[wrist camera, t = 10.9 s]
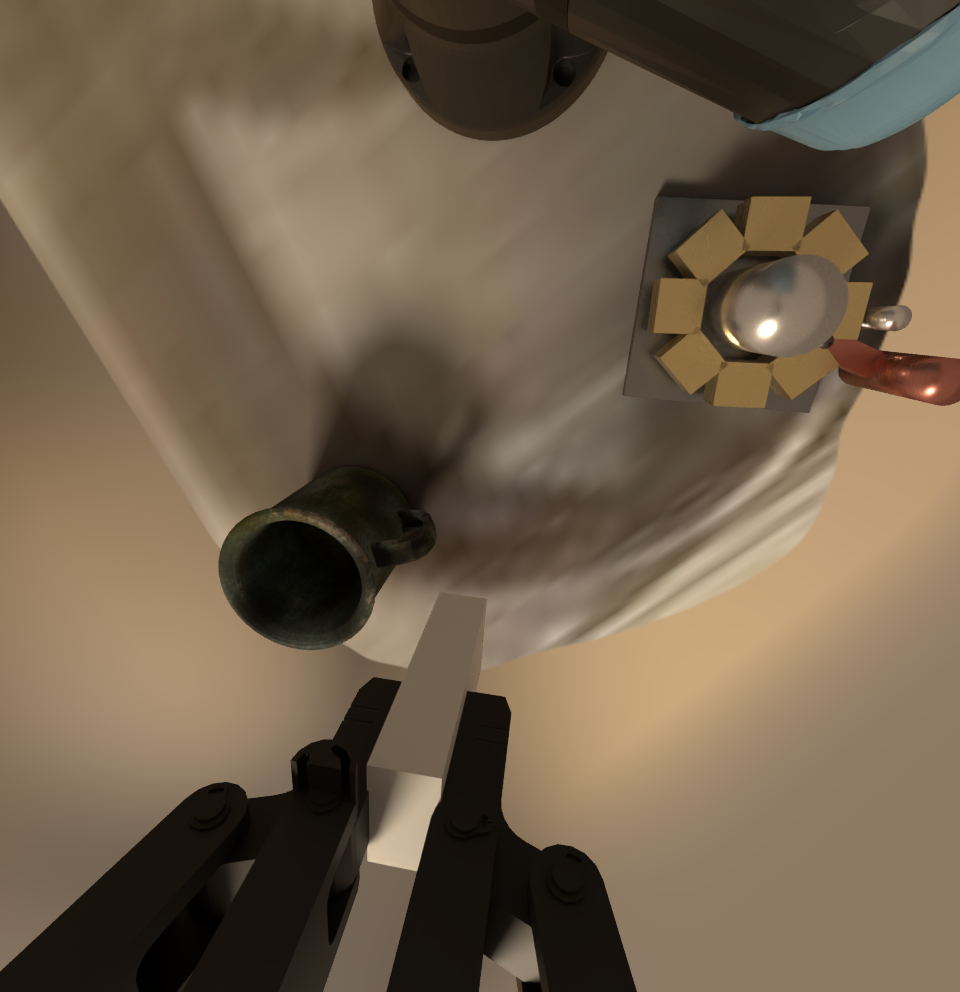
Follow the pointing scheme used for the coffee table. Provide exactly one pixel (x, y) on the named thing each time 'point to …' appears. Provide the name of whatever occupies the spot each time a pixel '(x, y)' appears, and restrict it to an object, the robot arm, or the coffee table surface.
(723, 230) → the toothed crank wheel
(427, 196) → the coffee table surface
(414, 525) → the mug
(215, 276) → the coffee table surface
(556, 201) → the coffee table surface
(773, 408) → the spindle base
